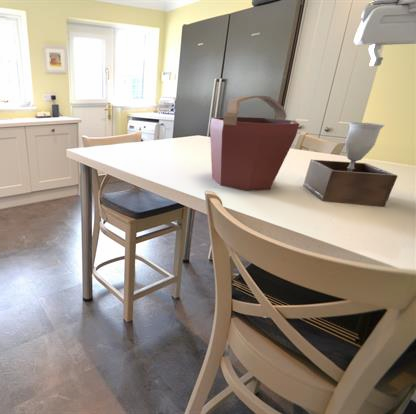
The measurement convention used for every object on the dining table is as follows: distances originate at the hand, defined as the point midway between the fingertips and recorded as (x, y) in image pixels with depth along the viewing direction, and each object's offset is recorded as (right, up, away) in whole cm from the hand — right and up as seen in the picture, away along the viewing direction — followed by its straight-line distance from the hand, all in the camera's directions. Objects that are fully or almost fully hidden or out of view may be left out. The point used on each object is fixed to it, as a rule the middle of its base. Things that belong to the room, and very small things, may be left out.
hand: (398, 65), depth 68 cm
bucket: (-28, -26, +21) cm, 44 cm away
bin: (-6, -31, +10) cm, 33 cm away
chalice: (-5, -30, +10) cm, 32 cm away
